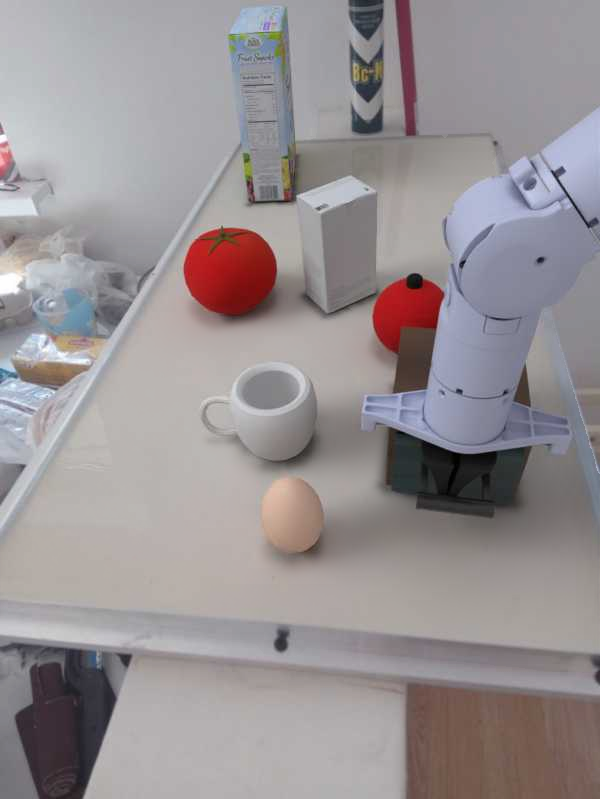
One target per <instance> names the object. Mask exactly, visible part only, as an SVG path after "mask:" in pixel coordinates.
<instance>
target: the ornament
mask: <svg viewBox="0 0 600 799" xmlns="http://www.w3.org/2000/svg"><path fill="white" fill-rule="evenodd" d="M443 299H444V290H443V289H442V288H441V287H440V286H439V285H437V284H436V283H434V282H432V281H430V280H429V279H426V278H424V277H423V276H422V275H421V274H420V273H417V272H413V273H410V274H408V275H407V276H406V277H405V278H401V279H399V280H396V281H394V282H392V283H390V284H389V285H388V286H386V288H384V289H383V290H382V291H381V293H380V294H379V295H378V297H377V299H376V300H375V303H374V306H373V310H372V317H371V318H372V319H371V320H372V327H373V330H374V333H375V335H376V337H377V339H378V340H379V342H380V343H381V344H382V345H383V346H384V347H385V348H387V350H388V351H390V352H392V353H394V354H397V355H398V351H399V344H400V336H401V328H402V327H416V328H431V329H437V324H438V318H439V312H440V307H441V304H442V301H443Z"/></svg>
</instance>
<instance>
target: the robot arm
mask: <svg viewBox="0 0 600 799" xmlns="http://www.w3.org/2000/svg"><path fill="white" fill-rule="evenodd" d="M540 153H541V154H540ZM540 153H539V152H537V153H536V154H535V155H533V156H532V157H530V158H528V156H527V155H524V156H522V157H521V158H520V159H518V160H517V161H515V163H513V164H512V165H510V166H509V168H508V173H500V174H499V176H497V177H496V176H495V177H493V175H492V176H488V177H486V178H484V179H481V180H479V181H478V182H476V183H475V184H473V185H471V186H470V187H468V188H467V189H466V190H465V191H464V192H463V193H462V194H461V195H460V196H459V197H458V198H457V199H456V201H455V202H454V204H453V205H452V208H453V210H452V212H449V213H448V215H447V216H443V218H442V219H441V233H442V238H443V241H444V243H445V246H446V248H447V250H448V251H449V254H450V257H451V260H452V261H451V262H452V263H450V264H449V266H448V270H447V276H446V283H445V287H444V290H443V292H444V299H443V301H442V304H441V307H440V312H439V318H438V324H437V330H436V336H435V342H434V349H433V355H432V361H431V368H430V374H429V380H428V386H427V389H426V390H419V391H412V392H404V393H397V394H393V393H389V394H367V393H366V394H364V397H363V402H362V409H361V419H360V420H361V421H360V430H362V431H369V432H373V431H376V429H377V426H380V427H388V428H389V427H392V428H395V429H397V430H400V431H402V432H405V433H407V434H410V435H412V436H415V437H417V438H420V439H422V443H421V456H422V460H423V463H424V464H425V465H426V466H427V467H428V468H429V470H430V471H431V473H432V475H433V478H434V480H435V484H436V488H437V494H441V495H449V496H457V495H458V494H459V493H460V492H461V490H462V489H463V488H464V487H465V486H466V485H467V484H468V483H470V482H471V481H472V480H474V479H475V478H477V477H479V476H481V475H483V474H486V473H490V472H491V471H492V470H493V468H494V467H495V465H496V462H497V450H504V449H511V448H518V447H525V446H532V445H533V446H543V447H548V448H547V449H548V452H550V453H551V454H554V455H562V456H565V455H566V454H567V452H568V450H569V448H570V445H571V443H572V441H573V439H574V433H573V428H572V423H571V418H570V417H569V416H563V415H558V414H553V413H549V412H546V411H542V410H540V409H539V410H538V409H536V408H534V407H532V406H531V407H528V406H525V405H522V404H519V403H516V402H513V399H514V396H515V393H516V390H517V387H518V384H519V381H520V377H521V374H522V371H523V368H524V365H525V362H526V363H527V359H528V356H529V353H530V350H531V347H532V344H533V340H534V337H535V334H536V331H537V328H538V325H539V320H540V318H541V316H542V315H541V314H542V311H543V309H545V308H548V307H550V306H554V305H555V304H557V303H559V302H560V301H561V300H562V299H563V298H564V297H565V296H566V295H567V294H568V293H569V291H570V290H571V288H573V286H574V285H575V283H576V282H577V279H578V278H579V275H580V274H581V271H582V270H583V269H584V268H585V266H587V264H589V263H591V262H592V261H594V260H595V259H597V256H596V254H598V253H599V252H600V243H599V242H600V106H598V107H596V109H594V110H593V111H592V112H591V113H589V114H588V115H586V116H585V117H584V118H582V119H581V120H580V121H579V122H577V123H576V124H574V125H573V126H572V127H571V128H569V129H568V130H567V131H565V132H564V133H563V134H561V135H560V136H558V137H557V138H556V139H555V140H553V141H552V142H551V143H549V144H548V145H547V146H545V147H544V148H543V149H542V150H540ZM541 155H542V156H543V157H544V159H545V160H544V159H543V157H542V156H541ZM546 162H547V163H546ZM548 165H549V166H548ZM550 168H551V169H550ZM590 229H591V230H592V232H593V233H592V232H591V230H590ZM596 238H597V239H598V241H599V242H598V241H597V239H596ZM533 446H532V447H533Z"/></svg>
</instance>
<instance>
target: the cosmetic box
mask: <svg viewBox="0 0 600 799" xmlns="http://www.w3.org/2000/svg"><path fill="white" fill-rule="evenodd" d="M378 194H379V192H378V191H377V190H376V189H374V188H372V187H371V186H369V185H368V184H366V183H364V182H362V181H361V180H359V179H358V178H356V177H355V176H353V175H351V174H349V175H347V176H345V177H342V178H339V179H336V180H335V181H331V182H329V183H326V184H323V185H322V186H319V187H316V188H313V189H310V190H308V191H304V192H302V193H300V194H299V193H298V194H297V195H296V205H297V207H296V208H297V216H298V227H299V234H300V246H301V254H302V268H303V276H304V286H305V295H306V296H308V298H309V299H311V301H313V302H314V303H315V304H316V305H317V306H318V307H319V308H320V309H322V310H323V312H325V313H326V314H327V315H328V314H329V315H330V314H331V313H334V312H336V311H338V310H340V309H343V308H345V307H347V306H349V305H351V304H353V303H355V302H358V301H360V300H363V299H364V298H366V297H369V296H371V295H373V294H376V292H377V243H378V242H377V236H378V234H377V233H378Z"/></svg>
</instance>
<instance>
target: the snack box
mask: <svg viewBox="0 0 600 799" xmlns="http://www.w3.org/2000/svg"><path fill="white" fill-rule="evenodd" d="M227 38H228V47H229V55H230V63H231V72H232V80H233V87H234V95H235V96H234V97H235V104H236V113H237V120H238V128H239V136H240V144H241V152H242V159H243V160H242V161H243V168H244V170H243V171H244V177H245V185H246V193H247V194H246V195H247V200H248V202H249V203H256V202H257V203H258V202H286V201H287V202H288V201H292V196H293V186H294V176H295V168H296V156H297V146H296V145H297V144H296V129H295V114H294V113H295V112H294V111H295V110H294V97H293V81H292V67H291V50H290V49H291V48H290V32H289V18H288V7H287V5H280V4H279V5H265V6H255V7H254V6H250V7H243V8H242V9H241V11H240V13H239V15H238V17H237V19H236V21H235V22H234V24H233V26H232V27H231V29H230V31H229V33H228V34H227Z"/></svg>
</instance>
